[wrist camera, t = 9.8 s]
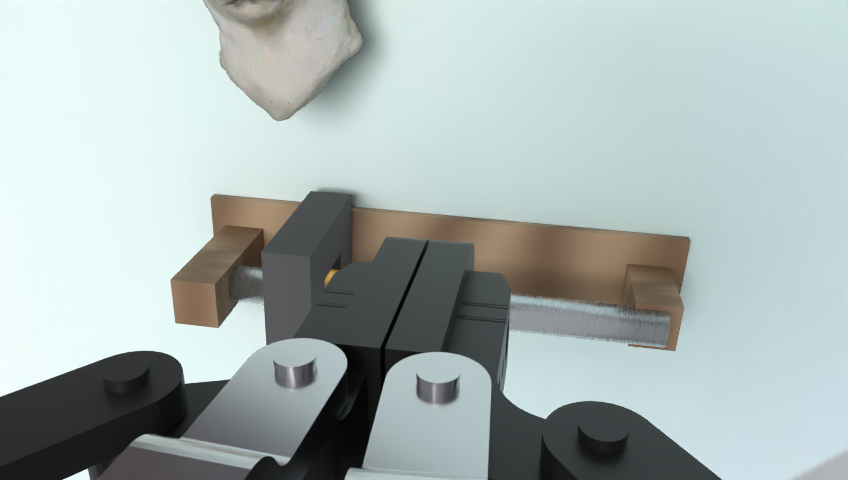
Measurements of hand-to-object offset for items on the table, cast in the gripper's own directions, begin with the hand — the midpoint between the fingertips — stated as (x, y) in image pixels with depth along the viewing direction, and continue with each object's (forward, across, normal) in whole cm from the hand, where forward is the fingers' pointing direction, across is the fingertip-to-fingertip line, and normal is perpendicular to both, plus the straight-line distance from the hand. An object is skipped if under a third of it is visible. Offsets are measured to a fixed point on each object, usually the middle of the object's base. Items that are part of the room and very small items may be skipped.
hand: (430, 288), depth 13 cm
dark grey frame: (+28, +11, +13) cm, 33 cm away
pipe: (+25, +4, +14) cm, 29 cm away
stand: (+29, +4, +14) cm, 32 cm away
